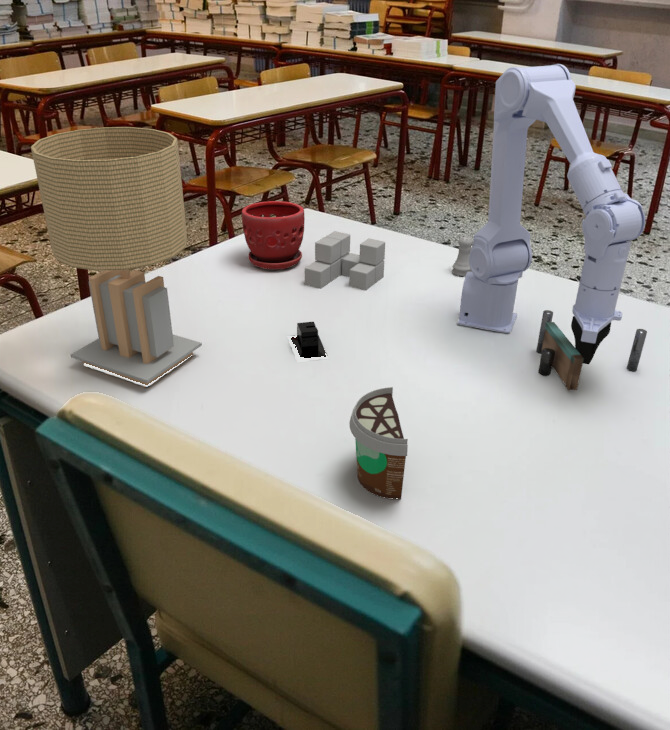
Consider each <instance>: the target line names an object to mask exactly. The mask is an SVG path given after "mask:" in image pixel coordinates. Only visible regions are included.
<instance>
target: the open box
mask: <svg viewBox="0 0 670 730" xmlns="http://www.w3.org/2000/svg"><path fill="white" fill-rule="evenodd" d="M545 329H546V330H545V335H544V340H543V346H542V350H543V349H545V348H549V349H553V350H554V351H555V355H554V361H553V366H552V369H554V371H555V373H556V374H557V375H558V377H559V378H560V379H561V380H562V382H563V384H564V385H565V386H564V387H565V388H566V389H567V390H568V391H578V386H579V381H580V377H581V374H582V373H581V372H582V369H583V365H584V364H583V360H584V358H583V357H582V356H581V354H580V353H579V352H578V351H577V349H576V348H575V345H574V344H572V342H571V341H570V340H569V338H568V337H567V336H566V335H565V334H564V332H563V331H562V330H561V329H560V328H559V326H558V325H557V324H556V323H555V322H554V321H552V322H546V323H545ZM541 352H542V351H541Z"/></svg>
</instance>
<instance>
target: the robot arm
mask: <svg viewBox="0 0 670 730" xmlns="http://www.w3.org/2000/svg"><path fill="white" fill-rule="evenodd" d="M576 87H577V86H576V83H575V82H574V81H573V80H572V76H571V73H570V71H569V69H568V68H567V66H565V65H564V64H561V63H555V64H551V65H543V66H542V65H539V66H526V67H525V66H523V67H522V66H521V67H518V66H513V67H512V66H511V67H509V68H507V69H506V70H505V71H504V72H503V73H502V74H501V75H500V76H499V78H498V79H497V80H496V81H495V90H494V91H495V92H494V93H495V94H494V110H493V130H492V131H493V132H492V148H491V149H492V151H491V164H490V165H491V167H490V185H489V197H488V198H489V200H488V217H487V222H486V223H485V225H483V226H482V227H481V228H480V229H479V230H478V231H477V232H476V233H475V234H473V238H472V240H473V244H472V245H471V248H472V249H471V251H470V255H469V265H470V269H471V271H472V272H467V274H466V276H465V277H464V279H463V284H462V291H461V298H460V307H459V314H458V315H459V316H458V321H457V324H458V325H459V326H460V325H461V326H465V327H471V328H477V329H482V330H486V331H487V330H488V331H491V332H497V333H503V334H511V332H512V329H513V326H514V323H515V321H516V318H517V316H518V314H517V313H516V312H514V310H515V309H514V308H515V303H516V296H517V289H518V284H519V283H518V282H519V279H521V278H523V273H524V272H525V271H528V269H530V267H531V264H532V261H533V250H532V247H531V233H530V232H529V231H528V229H526V228H525V227H524V226H523V225H522V224H521V218H522V208H523V207H522V204H523V193H524V180H525V168H526V167H525V166H526V158H527V157H526V155H527V141H528V130H529V128H530V126H531V125H533V124H534V123H535V122H536V121H540V122H544V123H545V124H546V125H547V126H548V128H549V130H550V132H551V133H552V135H553V137H554V139H555V141H556V142H557V144H558V145H559V147H560V149H561V151H562V152H563V154H564V155H565V157H566V159H567V161H568V162H569V164H570V165H569V168H568V172H567V174H566V175H567V180H568V182H569V184H570V186H571V187H572V190H573V192H574V195H575V196H576V199H577V201H578V203H579V205H580V207H581V209H582V211H583V213H584V215H585V218H583V219H582V223H581V229H582V235H583V237H584V244H583V245H584V246H583V249H584V254H585V255H584V259H583V265H582V269H581V274H580V279H579V284H578V289H577V293H576V298H575V304H574V305H572V309H571V310H572V312H571V313H572V314H573V316H572V318H571V324H570V329H571V331H572V333H573V336H574V347H575V348H576V349H577V351H578V352H579V353H580V354H581V356H582V357H583V358H584V360H583V365H590V363H591V362H592V360H593V359H594V356H595V354H596V352H597V350H598V348H599V346H600V344H601V343H602V342H603V340H604V339H605V338H607V337H608V335H609V334H610V332H611V326H612V322H613V321H619V322H620V321H622V318H623V312H622V311H621V310H617V309H616V307H617V302H618V298H619V294H620V292H621V291H620V290H621V286H622V284H623V278H624V274H625V269H626V266H627V261H628V257H629V253H630V249H631V245H632V241H633V240H636V239H638V238H640V236H641V235H642V233H643V232H644V230H645V225H646V215H645V212H644V210H643V209H644V208H643V205H642V204H641V203H640V202H639V201H638V200H636V199H633V198H631V197H630V196H629V194H628V193H626V192H624V191H623V188H622V186H621V185H620V183H619V180H618V179H617V177H616V175H615V172H614V171H613V169H612V168H613V166H612V164H611V162H610V159H607V157H606V156H605V155H603V154H600V153H596V152H594V150H593V148H592V145H591V142H590V140H589V137H588V135H587V133H586V129H585V127H584V124H583V122H582V119H581V117H580V115H579V111H578V108H577V106H576V103H575V101H574V98H575V93H576Z"/></svg>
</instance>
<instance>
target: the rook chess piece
mask: <svg viewBox="0 0 670 730" xmlns="http://www.w3.org/2000/svg"><path fill="white" fill-rule="evenodd" d="M457 242H458V244H459V246H458V247H457V249H458V254H457V258H456V260H455V261H454V263H453V264H452V269H451V271H452V274H453V275H455V276H457V277H460V278H461V277H462V278H465V276H466V274H467V272H472V271H471V269H470V265H469V255H470V251H471V249H472V246H473V236H471V235H467V234H464V235H460V236H459V239H458V240H457Z"/></svg>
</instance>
